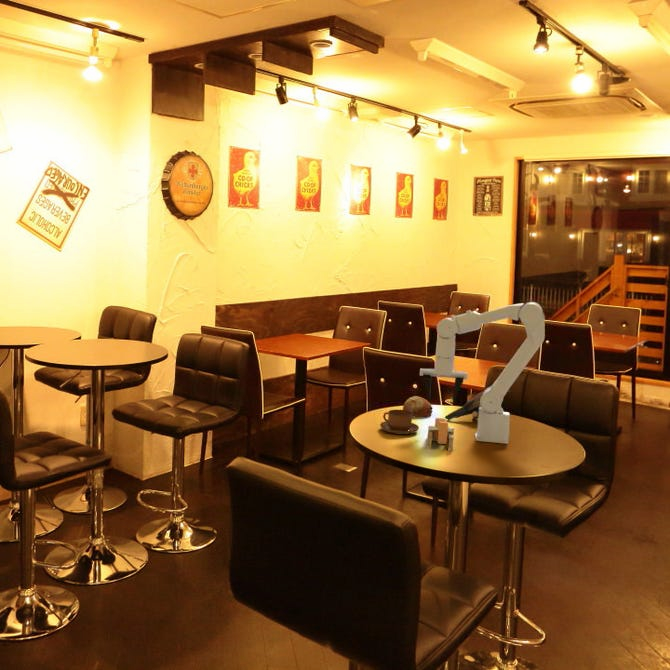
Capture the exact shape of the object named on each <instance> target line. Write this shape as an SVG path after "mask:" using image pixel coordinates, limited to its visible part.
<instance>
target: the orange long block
mask: <svg viewBox="0 0 670 670" xmlns="http://www.w3.org/2000/svg"><path fill="white" fill-rule="evenodd" d="M434 422H435V423H434V425H435V427H438V432H436V431H435V432H434V438H435V439H438V441H437V443H438V444H443V445H444V444H445V445H446V444H447V443H448V442H447V432H448V427H449V422H448V421H447V419H445V417H443V418H441V417H435V420H434Z"/></svg>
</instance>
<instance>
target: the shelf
mask: <svg viewBox="0 0 670 670" xmlns="http://www.w3.org/2000/svg"><path fill="white" fill-rule="evenodd" d="M427 427H428V430H427V439H426V450H431V449H432V443H433V441H436V442H438V439H435V438H434V432H435V431H436V432H438V427H435V424H433V425H432V424H429V425H428V426H427ZM454 435H455V427H454V426H448V432H447V443H448V449H447V450H448V452H453V448H454Z"/></svg>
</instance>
